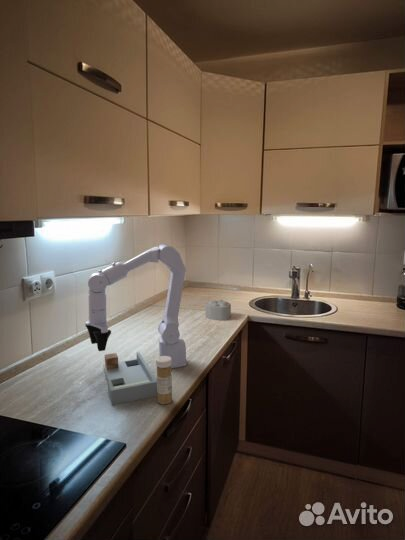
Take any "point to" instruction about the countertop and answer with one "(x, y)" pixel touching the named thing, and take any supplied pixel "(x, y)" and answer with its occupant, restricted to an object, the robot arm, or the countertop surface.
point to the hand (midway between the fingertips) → (98, 346)
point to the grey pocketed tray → (130, 381)
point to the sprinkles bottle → (164, 379)
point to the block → (111, 361)
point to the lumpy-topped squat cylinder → (218, 310)
